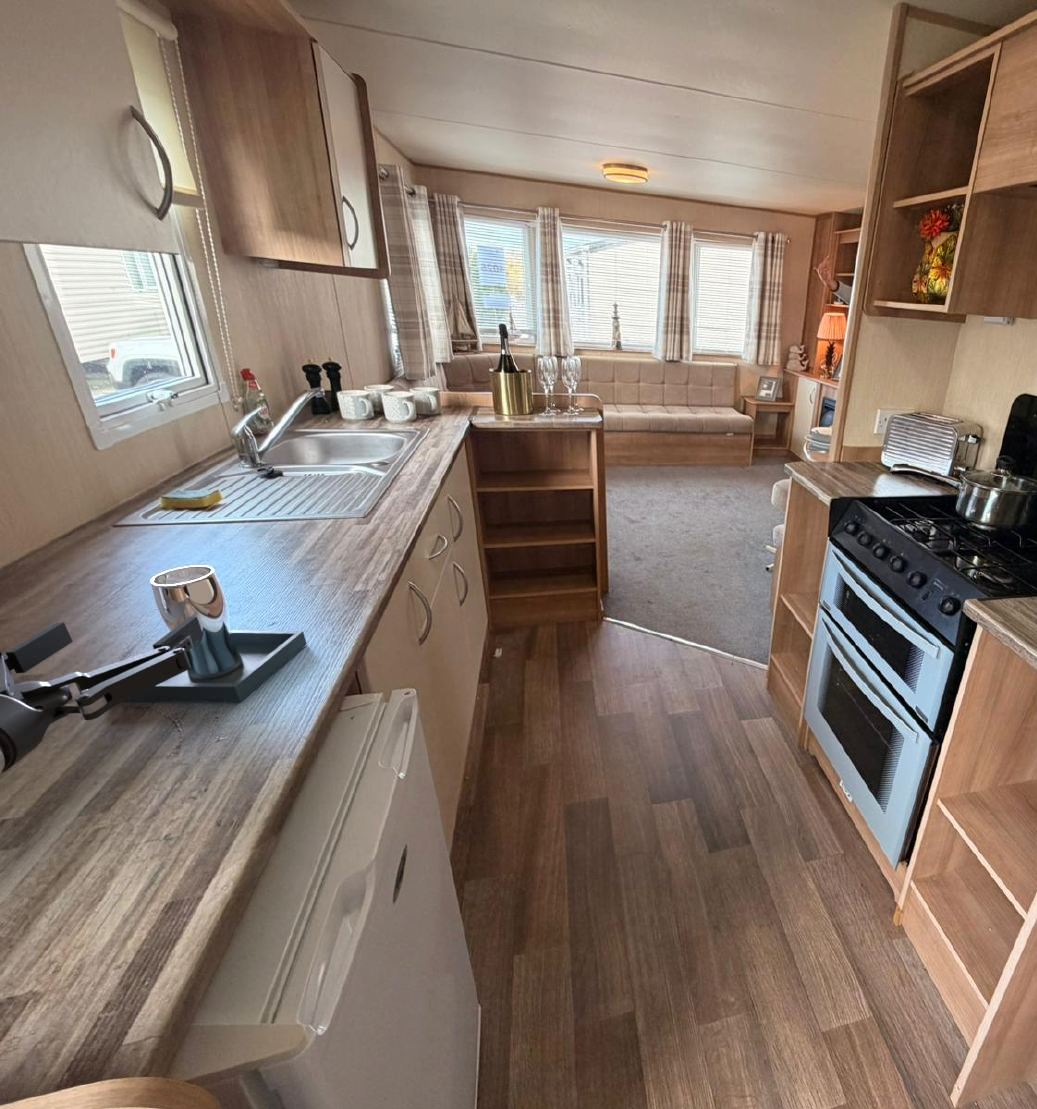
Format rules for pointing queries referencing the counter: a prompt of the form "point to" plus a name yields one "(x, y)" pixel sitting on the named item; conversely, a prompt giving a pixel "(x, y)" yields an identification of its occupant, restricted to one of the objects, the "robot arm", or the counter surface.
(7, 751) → the robot arm
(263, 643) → the tray
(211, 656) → the shiny silver metal cup
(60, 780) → the counter surface
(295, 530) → the counter surface
